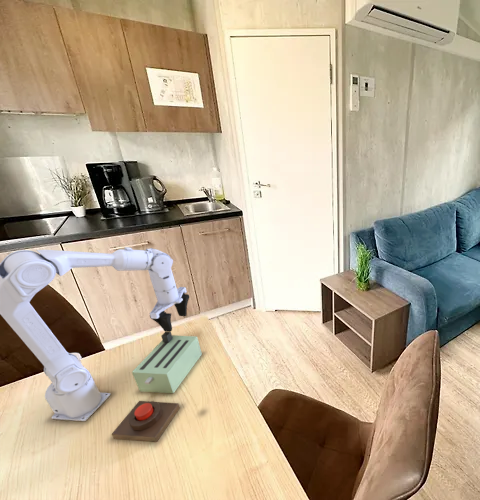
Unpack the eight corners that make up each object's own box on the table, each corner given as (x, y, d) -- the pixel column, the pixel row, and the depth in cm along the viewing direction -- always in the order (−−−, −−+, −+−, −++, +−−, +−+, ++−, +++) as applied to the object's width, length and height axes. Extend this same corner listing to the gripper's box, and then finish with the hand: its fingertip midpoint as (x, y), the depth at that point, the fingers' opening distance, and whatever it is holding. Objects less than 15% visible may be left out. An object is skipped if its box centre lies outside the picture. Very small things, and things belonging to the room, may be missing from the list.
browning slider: (163, 342, 88) (161, 335, 87) (167, 337, 90) (165, 331, 89) (168, 342, 88) (166, 336, 87) (172, 338, 90) (170, 331, 88)
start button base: (113, 438, 69) (108, 429, 67) (141, 405, 77) (137, 395, 75) (157, 441, 68) (153, 432, 66) (180, 407, 76) (177, 398, 75)
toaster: (135, 396, 79) (126, 376, 76) (173, 352, 94) (167, 334, 91) (169, 398, 79) (162, 378, 75) (202, 354, 94) (197, 336, 91)
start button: (132, 420, 70) (130, 415, 69) (143, 407, 73) (141, 402, 72) (146, 421, 69) (144, 416, 69) (156, 408, 73) (155, 403, 72)
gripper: (161, 301, 80) (173, 339, 85) (191, 275, 93) (200, 310, 98) (137, 300, 80) (151, 337, 86) (170, 275, 93) (180, 309, 99)
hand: (175, 322), depth 92 cm, fingers open, 7 cm apart
